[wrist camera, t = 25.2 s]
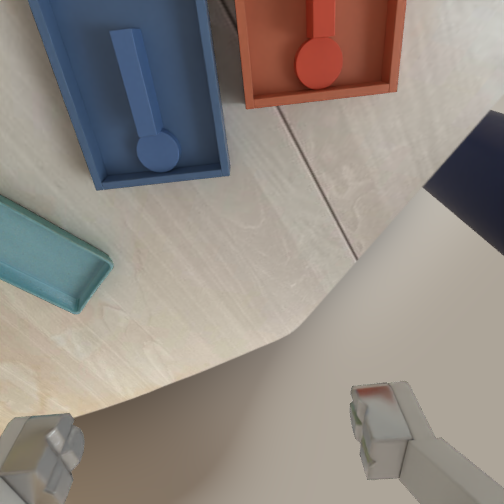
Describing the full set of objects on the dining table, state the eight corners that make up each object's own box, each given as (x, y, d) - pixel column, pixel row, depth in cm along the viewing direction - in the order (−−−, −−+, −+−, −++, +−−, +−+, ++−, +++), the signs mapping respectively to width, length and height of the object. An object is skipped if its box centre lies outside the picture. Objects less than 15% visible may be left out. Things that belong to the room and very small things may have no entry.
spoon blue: (106, 32, 28) (93, 32, 25) (154, 26, 27) (145, 25, 25) (145, 170, 34) (138, 182, 31) (185, 166, 33) (180, 177, 31)
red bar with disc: (287, -87, 24) (293, -101, 22) (342, -94, 24) (355, -109, 22) (294, 90, 30) (299, 95, 28) (338, 85, 30) (348, 90, 28)
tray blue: (199, -53, 25) (196, -61, 23) (230, 167, 34) (229, 176, 32) (32, -31, 26) (14, -37, 24) (105, 181, 34) (96, 190, 32)
